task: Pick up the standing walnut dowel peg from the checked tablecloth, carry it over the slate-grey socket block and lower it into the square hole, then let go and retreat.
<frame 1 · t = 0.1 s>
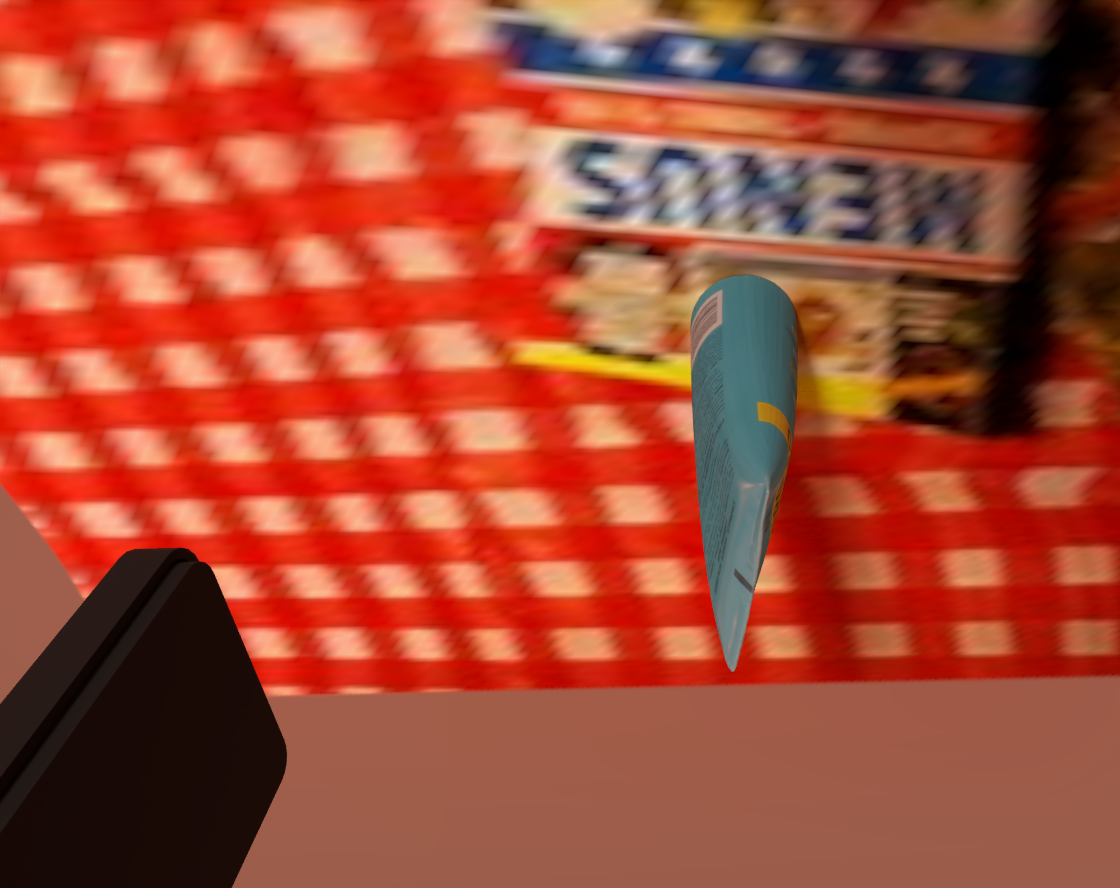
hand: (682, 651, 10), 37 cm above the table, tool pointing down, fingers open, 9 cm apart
tube: (746, 317, 48), on the table
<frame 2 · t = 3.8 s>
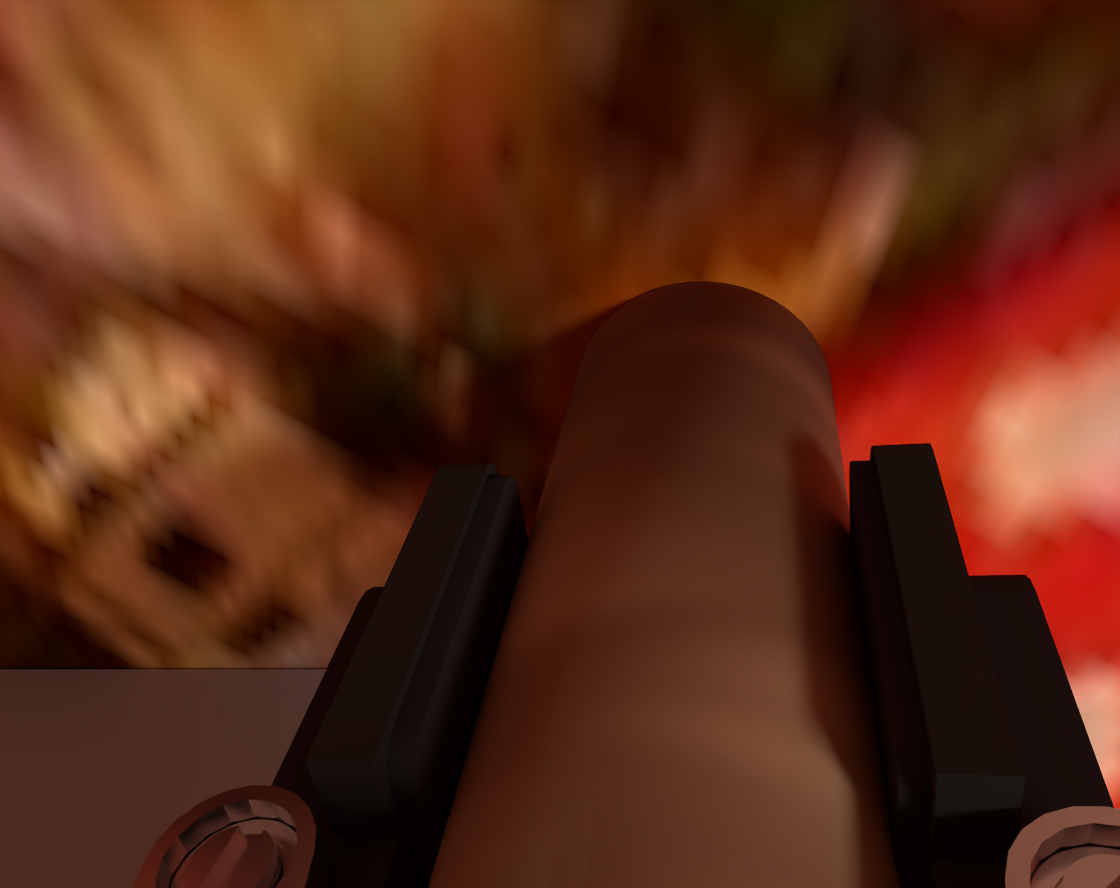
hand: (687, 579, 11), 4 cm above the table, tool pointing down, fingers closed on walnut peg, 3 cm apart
walnut peg: (701, 398, 14), on the table, touching gripper
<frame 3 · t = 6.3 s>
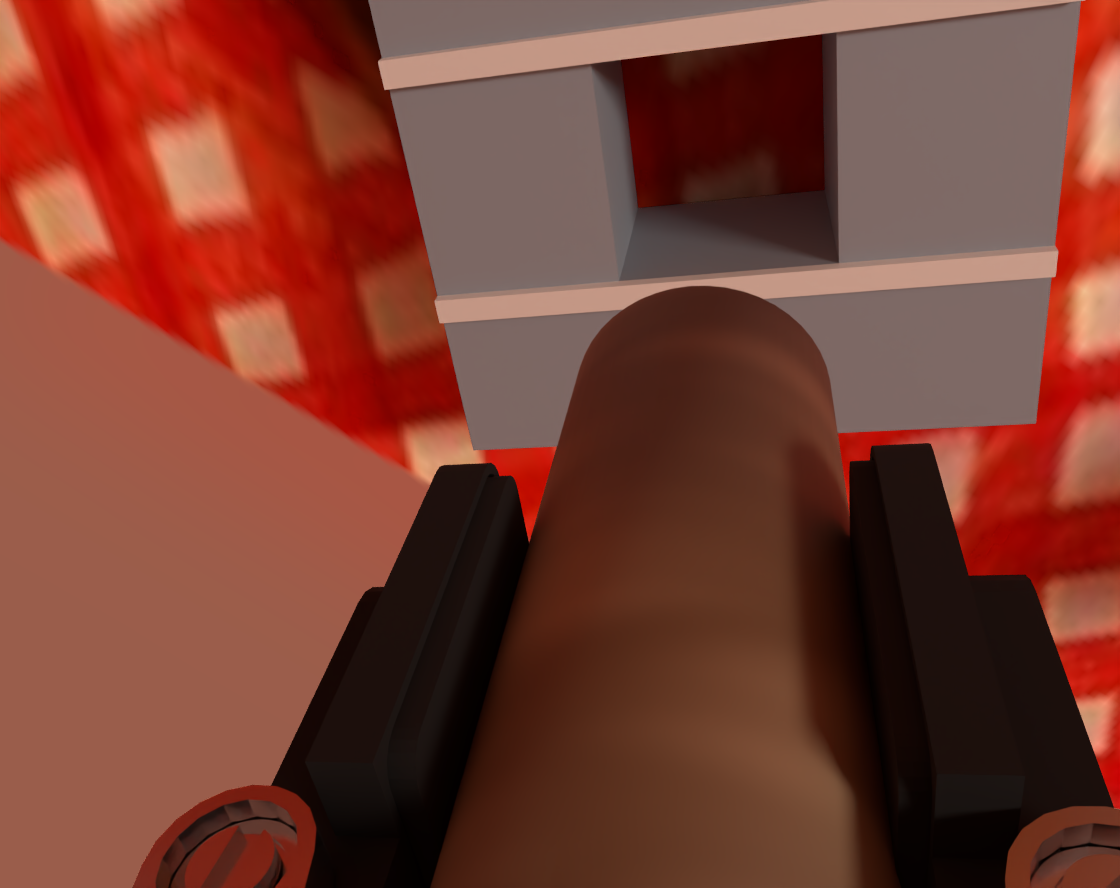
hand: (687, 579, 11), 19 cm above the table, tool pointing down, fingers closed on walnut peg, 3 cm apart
socket block: (723, 105, 26), on the table
walnut peg: (701, 402, 14), point 15 cm above the table, touching gripper
when the fingers open (6 cm above the table, at t = 9.2 s): walnut peg drops 2 cm, resting in socket block.
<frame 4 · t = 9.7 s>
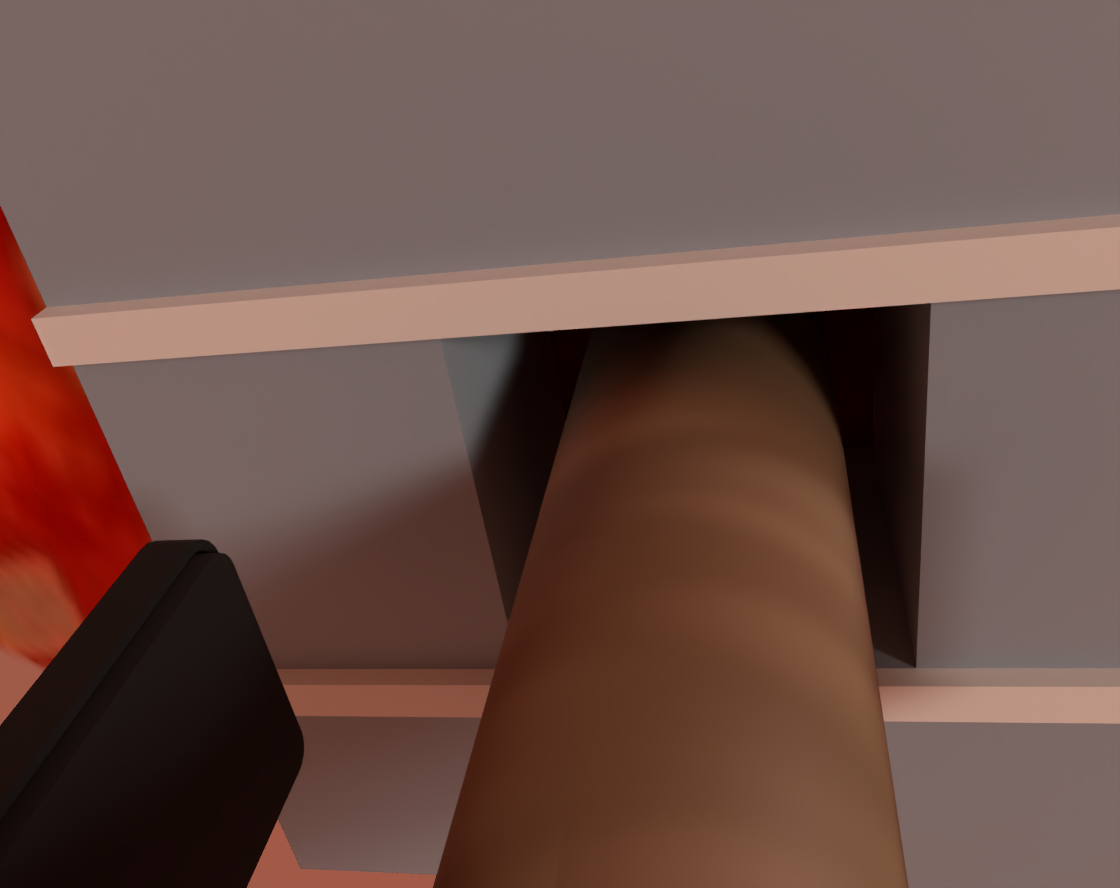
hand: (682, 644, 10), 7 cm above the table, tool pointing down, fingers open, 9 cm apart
socket block: (706, 319, 16), on the table
walnut peg: (708, 317, 16), resting in socket block
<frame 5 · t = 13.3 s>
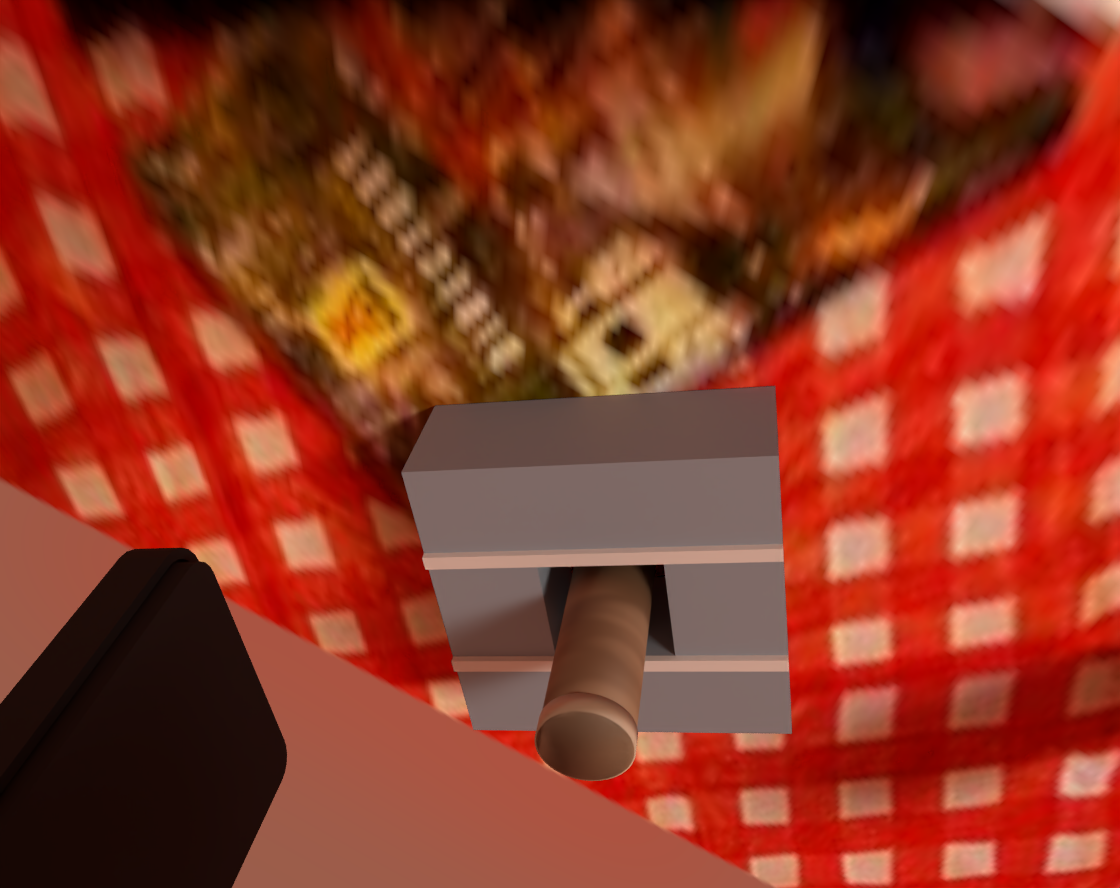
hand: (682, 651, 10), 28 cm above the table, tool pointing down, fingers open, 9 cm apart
socket block: (619, 533, 45), on the table
walnut peg: (620, 533, 45), resting in socket block
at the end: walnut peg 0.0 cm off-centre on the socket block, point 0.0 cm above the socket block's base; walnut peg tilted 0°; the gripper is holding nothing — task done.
